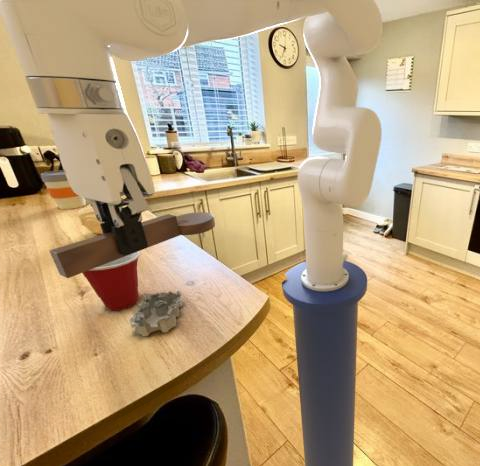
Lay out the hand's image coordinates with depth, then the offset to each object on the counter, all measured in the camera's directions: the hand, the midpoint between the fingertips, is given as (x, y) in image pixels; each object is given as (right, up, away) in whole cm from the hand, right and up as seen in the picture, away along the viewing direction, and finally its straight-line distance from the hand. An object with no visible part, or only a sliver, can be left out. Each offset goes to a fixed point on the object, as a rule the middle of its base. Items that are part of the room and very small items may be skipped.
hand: (129, 248), depth 39 cm
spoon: (+1, +1, +3) cm, 3 cm away
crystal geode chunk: (-10, -16, +21) cm, 29 cm away
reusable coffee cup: (-94, +14, +90) cm, 131 cm away
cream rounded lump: (-57, +3, +64) cm, 86 cm away
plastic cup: (-21, -14, +26) cm, 36 cm away
